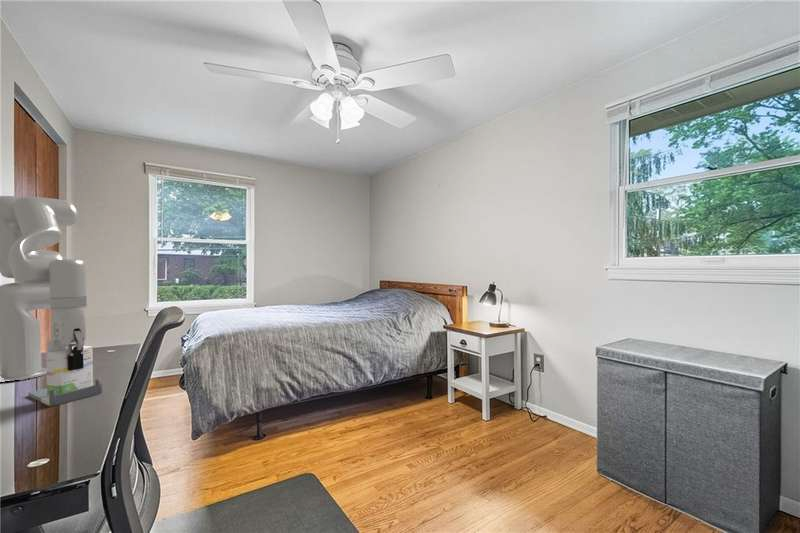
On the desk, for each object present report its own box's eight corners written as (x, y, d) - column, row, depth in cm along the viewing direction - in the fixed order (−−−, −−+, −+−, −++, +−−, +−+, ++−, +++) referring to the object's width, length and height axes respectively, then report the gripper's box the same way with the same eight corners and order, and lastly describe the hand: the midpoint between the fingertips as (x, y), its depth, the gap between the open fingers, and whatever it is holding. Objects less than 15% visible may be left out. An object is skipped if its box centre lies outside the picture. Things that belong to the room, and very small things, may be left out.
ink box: (60, 397, 95) (59, 341, 95) (46, 396, 96) (44, 341, 96) (94, 385, 104) (93, 335, 103) (81, 385, 105) (79, 334, 104)
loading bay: (28, 395, 101) (27, 381, 101) (77, 384, 111) (76, 371, 110) (51, 406, 93) (50, 391, 93) (102, 393, 102) (101, 379, 102)
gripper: (39, 303, 101) (41, 367, 101) (63, 306, 92) (65, 376, 92) (73, 301, 107) (75, 360, 107) (99, 303, 99) (101, 368, 99)
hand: (70, 367), depth 100 cm, fingers closed on ink box, 6 cm apart
